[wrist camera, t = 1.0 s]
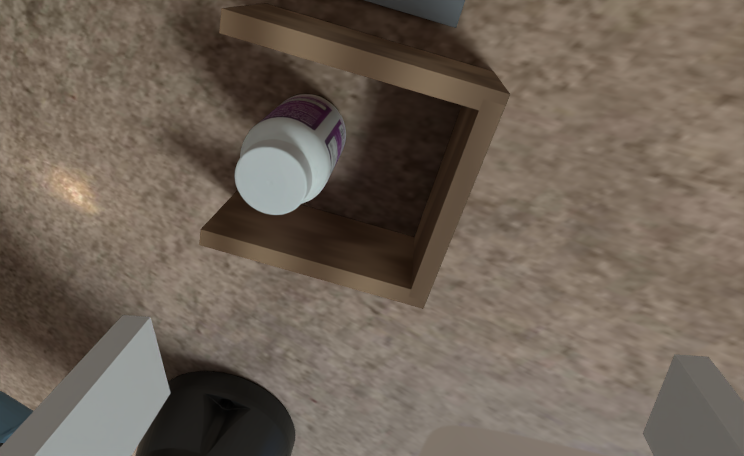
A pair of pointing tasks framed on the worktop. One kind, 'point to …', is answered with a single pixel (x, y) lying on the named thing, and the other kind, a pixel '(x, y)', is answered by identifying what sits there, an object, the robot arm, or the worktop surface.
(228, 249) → the nook
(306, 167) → the pill bottle
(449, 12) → the mat
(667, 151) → the worktop surface
